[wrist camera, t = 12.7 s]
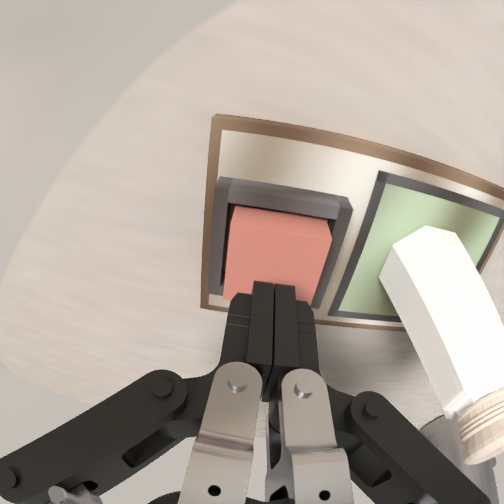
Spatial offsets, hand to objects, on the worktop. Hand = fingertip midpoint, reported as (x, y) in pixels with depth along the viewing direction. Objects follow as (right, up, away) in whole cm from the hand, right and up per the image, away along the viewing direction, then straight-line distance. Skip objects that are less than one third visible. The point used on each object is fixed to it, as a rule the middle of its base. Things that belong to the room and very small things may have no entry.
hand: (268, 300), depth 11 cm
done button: (0, +2, +3) cm, 3 cm away
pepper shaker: (+9, +1, +4) cm, 10 cm away
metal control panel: (+6, +2, +5) cm, 7 cm away
